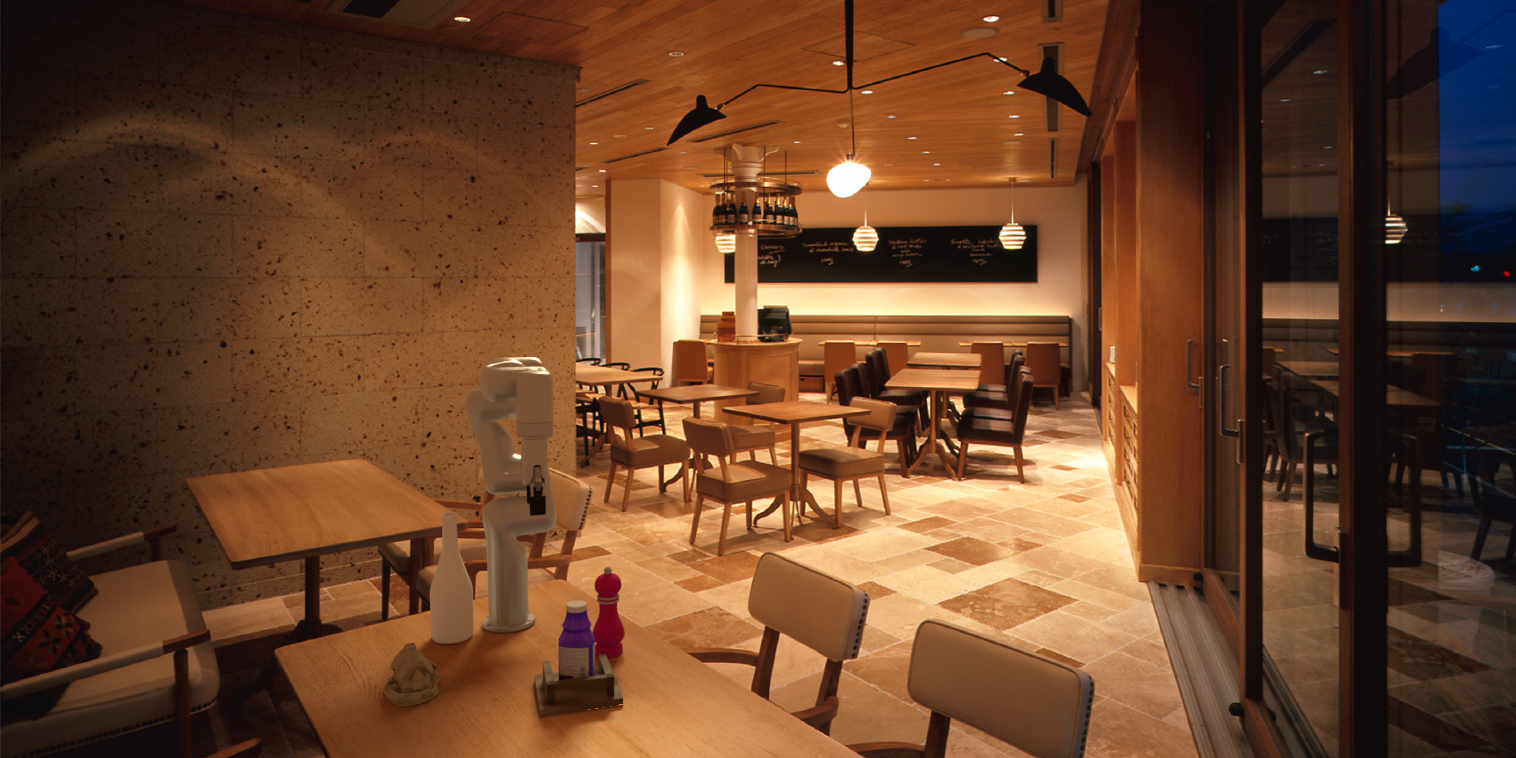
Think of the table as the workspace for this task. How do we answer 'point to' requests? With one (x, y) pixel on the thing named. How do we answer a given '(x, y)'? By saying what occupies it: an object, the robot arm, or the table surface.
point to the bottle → (576, 643)
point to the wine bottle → (451, 590)
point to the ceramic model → (411, 678)
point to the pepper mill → (608, 616)
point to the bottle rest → (577, 690)
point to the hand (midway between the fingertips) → (536, 508)
